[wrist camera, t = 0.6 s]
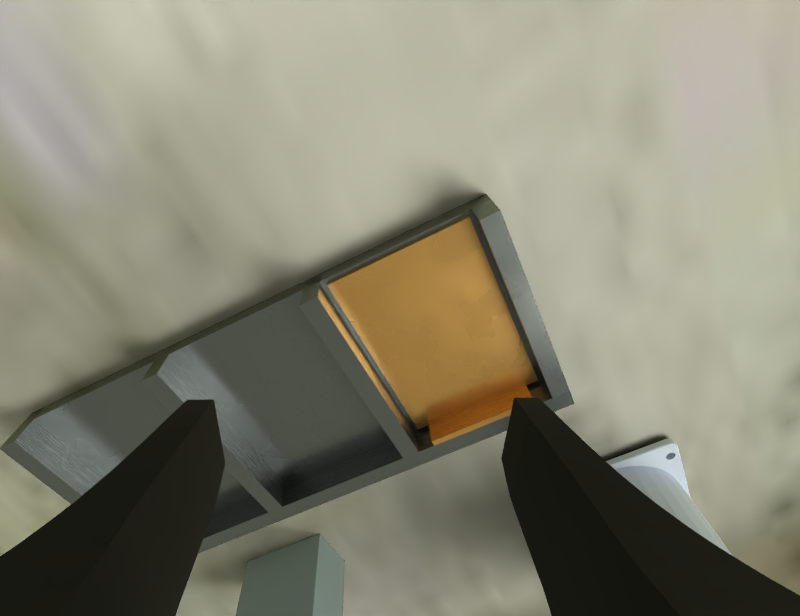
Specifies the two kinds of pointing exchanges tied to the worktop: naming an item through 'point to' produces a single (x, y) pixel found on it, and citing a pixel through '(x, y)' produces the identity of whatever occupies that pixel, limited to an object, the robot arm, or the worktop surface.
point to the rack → (328, 377)
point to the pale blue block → (294, 581)
